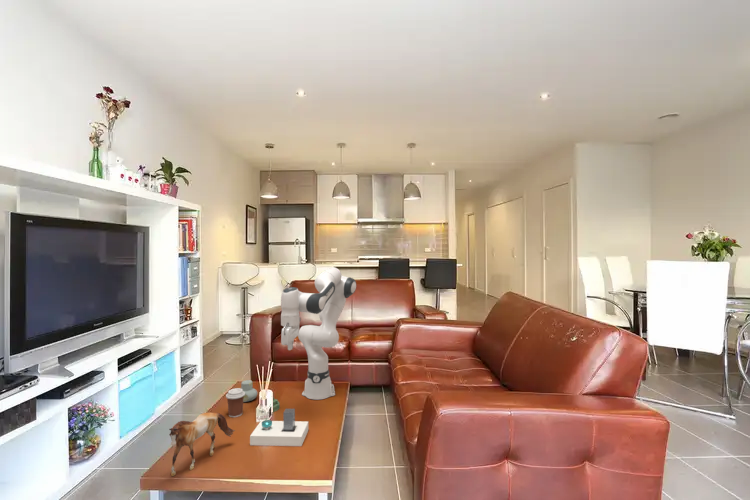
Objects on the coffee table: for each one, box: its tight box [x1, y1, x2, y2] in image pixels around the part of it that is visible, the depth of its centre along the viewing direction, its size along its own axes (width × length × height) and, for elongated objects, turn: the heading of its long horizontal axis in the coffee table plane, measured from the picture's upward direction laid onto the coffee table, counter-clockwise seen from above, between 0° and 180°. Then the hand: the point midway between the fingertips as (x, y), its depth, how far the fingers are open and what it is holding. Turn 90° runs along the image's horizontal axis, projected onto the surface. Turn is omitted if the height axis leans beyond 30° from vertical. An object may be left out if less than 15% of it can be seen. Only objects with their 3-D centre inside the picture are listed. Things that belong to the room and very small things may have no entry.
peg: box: [282, 408, 296, 432], centre depth 170 cm, size 4×4×12 cm
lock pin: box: [262, 419, 273, 430], centre depth 170 cm, size 4×4×6 cm
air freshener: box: [240, 379, 258, 403], centre depth 211 cm, size 11×8×10 cm
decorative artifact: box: [272, 396, 281, 413], centre depth 200 cm, size 10×7×10 cm
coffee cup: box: [225, 387, 245, 418], centre depth 193 cm, size 9×9×12 cm
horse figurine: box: [169, 412, 236, 477], centre depth 152 cm, size 31×8×21 cm, turn 158°
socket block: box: [249, 420, 309, 447], centre depth 170 cm, size 14×22×4 cm, turn 88°
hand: (290, 349), depth 187 cm, fingers closed
